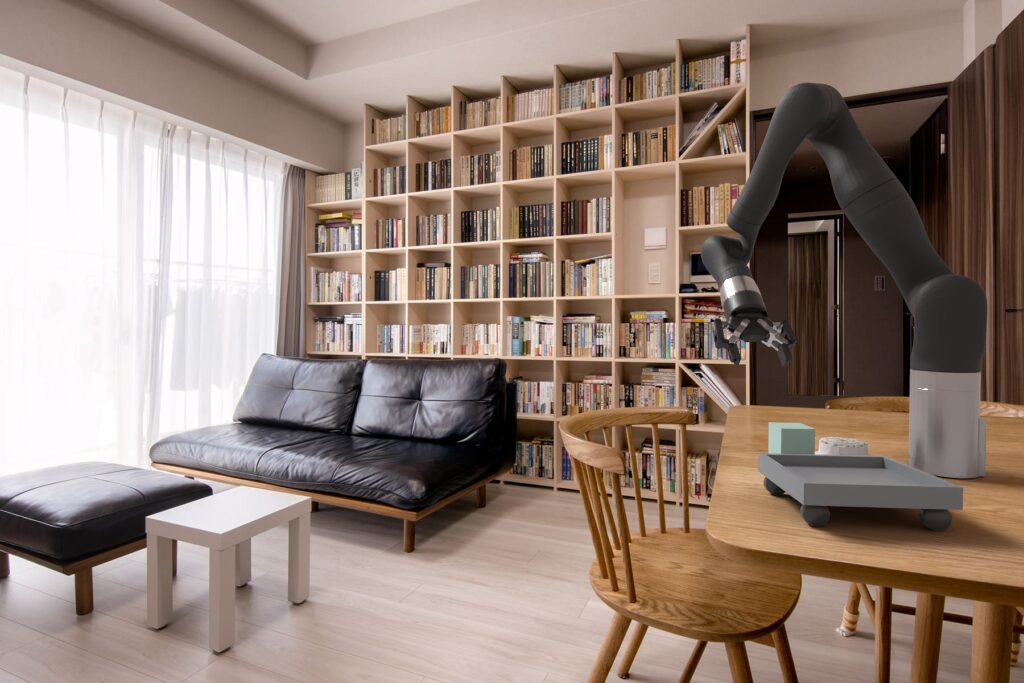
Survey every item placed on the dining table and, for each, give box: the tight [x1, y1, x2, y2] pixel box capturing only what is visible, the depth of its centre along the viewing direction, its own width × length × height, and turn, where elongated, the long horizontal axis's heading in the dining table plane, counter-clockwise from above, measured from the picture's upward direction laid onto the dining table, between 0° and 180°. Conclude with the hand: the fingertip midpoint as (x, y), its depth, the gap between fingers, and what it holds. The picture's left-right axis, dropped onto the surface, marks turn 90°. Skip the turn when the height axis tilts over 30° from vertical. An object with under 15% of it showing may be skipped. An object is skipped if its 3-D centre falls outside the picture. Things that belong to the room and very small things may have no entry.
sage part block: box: [767, 421, 816, 454], centre depth 83 cm, size 5×5×9 cm
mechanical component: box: [815, 436, 869, 456], centre depth 94 cm, size 10×4×10 cm
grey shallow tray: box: [757, 452, 964, 532], centre depth 70 cm, size 18×15×6 cm
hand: (762, 363), depth 95 cm, fingers open, 8 cm apart
